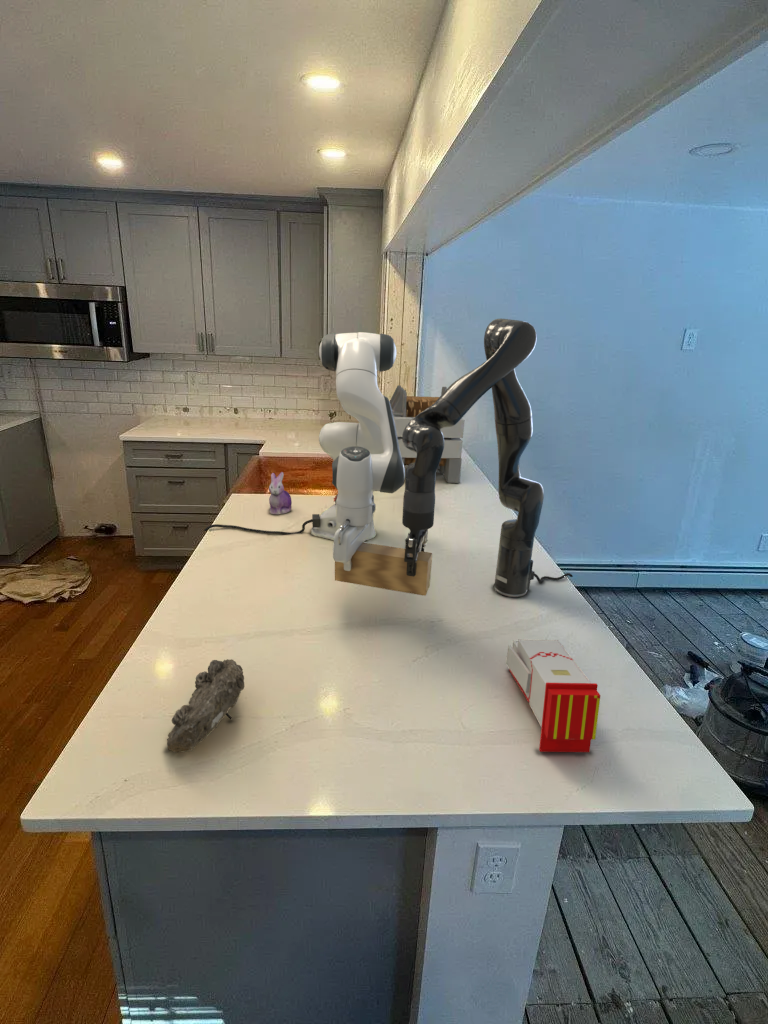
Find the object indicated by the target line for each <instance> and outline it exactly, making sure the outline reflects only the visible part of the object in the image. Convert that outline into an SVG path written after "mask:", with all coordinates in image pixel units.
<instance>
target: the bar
mask: <svg viewBox="0 0 768 1024" xmlns="http://www.w3.org/2000/svg"><path fill="white" fill-rule="evenodd" d="M410 557H413V554H410ZM404 558H405V548H403V547H397V546H389V545H382V544H377V543H369V542H365V541H364V542H363V543H362V544H361V545H360V547H359V548H358V549H357V550H356V552H355V554H354V555H353V556H352V558H351V562H352V569H351V570H350V571H346V570H344V563H342V562H336V561H334V581H336V582H341V583H342V582H343V583H347V584H353V585H359V586H360V585H361V586H365V587H371V588H376V589H382V590H387V591H388V590H389V591H395V592H400V593H405V594H411V595H418V596H424V597H426V596H427V594H428V591H429V590H430V587H431V577H432V565H433V564H432V563H433V552H429V551H424V552H423V551H421V553H420V554H418V558H417V565H416V575H415V576H414V577H413V576H408V575H407V574H406V572H407V562H404Z"/></svg>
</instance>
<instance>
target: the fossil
mask: <svg viewBox="0 0 768 1024" xmlns="http://www.w3.org/2000/svg"><path fill="white" fill-rule="evenodd" d="M243 670H244V669H243V667H242V665H240V664H237V662H236V661H235V660H234V659H232V658H231V659H227V658H226V659H224V660H223V661H222V660H217V659H212V660H211V661H210V663H209V665H208V666H207V671H201V672H199V673H198V674H197V675H196V676H195V680H194V684H195V685H194V687H195V689H194V690H193V693H192V694H191V697H190V698H189V700H188V704H184V705H182V706H181V707H180V709H177V710H176V711H175V713H174V715H173V716H172V718H171V723H172V724H173V727H172V730H171V731H170V732H168V734H167V738H166V741H167V742H166V745H167V749H168V750H169V751H173V752H174V753H176V754H178V753H182V752H188V751H189V752H192V751H193V750H195V748H196V747H197V746H199V744H200V743H201V742H203V741H204V740H205V739H206V738H207V737H208V736H209V735H210V734H211V733H212V732H214V730H215V729H217V727H218V726H219V724H220V722H221V721H222V720H223V719H224V718H225V716H226V717H227V719H229V720H233V717H232V715H230V714H229V710H230V709H231V708H234V706H235V704H236V703H237V702H238V699H239V697H240V695H241V693H242V691H243V690H245V689H244V688H245V675H244V671H243Z"/></svg>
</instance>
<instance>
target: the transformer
mask: <svg viewBox="0 0 768 1024" xmlns="http://www.w3.org/2000/svg"><path fill="white" fill-rule="evenodd" d="M447 388H448V387H447V386H442V387H441V392H440V393H441V394H440V396H441V395H442V394H443V393H444V392H445V391H446V390H447ZM407 394H408V393H407V390H406V389H404V388H403V387H402V385H399V384H398V385H397V386H396V388H395V390H394V392H393V394H392V395H391V398H390V400H389V402H390V404H391V408H392V413H393V417H394V422H395V428H396V433H397V439H398V444H399V449H400V454H401V458H402V461H403V464H404V466H406V467H407V466H408V465H409V464H411V463H414V462H415V461H416V456H417V453H416V452H414V451H411V450H409V449H408V448H406V447H405V446H404V444H403V441H402V434H403V431H404V429H405V427H406V426H407V424H408V423H409V422H410V421H411V420H412V419H413V418H414V417H416V416H417V415H418V414H420V413H421V412H423V411H424V410H425V409H427V408H428V407H430V406H432V405H433V404H434V403H435V402H436V401H437V400H438V398H439V397H440V396H415V395H414V396H413V395H412V396H411V395H407ZM464 429H465V419H464V418H463V417H462V418H461V419H460V421H459V422H458V423H457V424H456V425H454V426H452V427H444V428H442V429H440V430H441V432H442V434H443V437H444V450H443V453H442V456H441V460H440V463H439V466H438V468H437V470H438V469H439V473H440V474H441V475H443V478H444V479H445V481H446V482H447V483H449V484H455V483H456V484H459V483H461V472H462V461H463V460H462V453H463V442H464V441H463V440H462V439H463V438H464V431H465V430H464Z"/></svg>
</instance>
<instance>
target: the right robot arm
mask: <svg viewBox="0 0 768 1024" xmlns="http://www.w3.org/2000/svg"><path fill="white" fill-rule="evenodd" d="M537 338H538V336H537V331H536V328H535V327H534V325H533V324H531V323H530V322H528V321H524V320H520V319H511V318H495V319H493V320H491V321H490V322H489V324H488V325H487V327H486V329H485V331H484V336H483V349H484V354H485V358H486V359H485V361H484V362H483V363H481V364H480V365H478V366H477V367H475V368H474V369H472V370H470V371H468V372H467V373H466V374H463V375H462V376H461V377H458V378H457V379H456V380H454V382H452V383H451V384H450V385H449V386H448V387H447V390H446V391H445V392H444V393H443V394H442V395H441V394H440V396H438V397H439V398H438V400H437V401H436V402H435V403H434V404H433V405H432V406H430V407H428V408H427V409H425V410H424V411H423V412H421V413H420V414H418V415H417V416H416V417H414V418H413V419H412V420H411V421H410V422H409V423H408V424H407V426H406V427H405V429H404V431H403V434H402V441H403V444H404V446H405V447H406V448H408V449H409V450H411V451H414V452H416V453H417V456H416V461H415V462H414V463H411V464H409V465H408V466H407V465H406V468H405V480H404V487H405V488H404V493H403V498H402V499H403V501H402V520H401V522H402V523H401V524H402V525H403V527H404V528H406V529H408V530H409V532H408V533H407V537H405V538H406V539H405V540H404V541H405V545H404V549H405V558H404V562H407V572H406V574H407V575H408V576H413V577H414V576H415V575H416V565H417V558H418V554H420V553H421V551H423V552H425V548H426V547H427V543H428V533H429V532H428V531H429V530H430V529H432V527H434V523H435V511H436V510H435V507H436V477H437V472H438V466H439V463H440V460H441V456H442V453H443V450H444V437H443V434H442V432H441V430H440V429H442V428H444V427H452V426H454V425H456V424H457V423H458V422H459V421H460V419H461V418H462V419H463V417H465V416H466V414H467V413H468V412H469V411H470V410H471V409H472V407H473V406H474V405H475V404H476V403H477V402H478V401H479V400H480V399H481V398H482V397H483V396H484V395H485V394H487V392H488V391H490V390H491V393H492V394H491V395H492V402H493V413H494V425H495V426H494V428H495V434H496V442H497V443H496V444H497V458H498V486H497V487H498V489H497V490H498V498H499V502H500V504H501V505H502V506H503V507H505V508H507V509H509V510H512V511H514V512H517V517H516V519H514V518H513V519H507V520H505V521H503V522H502V523H501V527H500V533H499V534H500V535H499V544H498V551H497V560H496V567H495V575H494V576H495V577H494V583H493V590H494V591H495V592H496V593H498V594H499V595H502V596H505V597H508V598H509V597H510V598H521V597H524V596H526V594H527V593H528V592H529V591H530V588H531V581H533V580H534V578H536V580H537V582H538V583H540V584H541V583H543V581H544V580H551V581H561V580H563V579H564V578H567V577H568V576H569V577H570V578H573V577H574V576H573V574H572V573H570V572H566V573H565V574H563V575H561V576H558V577H554V576H547V575H546V576H545V575H544V576H541V578H540V576H539V575H538V574H536V572H535V571H534V570H533V566H534V559H532V557H533V550H534V542H535V537H536V532H537V530H538V527H539V524H540V518H541V513H542V509H543V505H544V497H545V490H544V487H543V485H542V484H541V483H540V482H538V481H536V480H533V479H529V478H525V477H522V476H521V475H522V474H521V471H520V469H521V468H520V461H521V457H522V456H523V453H524V452H525V450H526V449H527V447H528V445H529V444H530V442H531V439H532V437H533V433H534V427H533V425H534V424H533V411H532V407H531V404H530V401H529V399H528V398H527V395H526V393H525V391H524V389H523V388H522V385H521V383H520V382H519V380H518V377H517V373H516V368H517V367H518V366H520V365H521V364H522V363H523V362H524V361H526V360H527V359H528V358H529V357H530V356H531V354H532V353H533V351H534V350H535V347H536V344H537V340H538V339H537ZM410 554H413V557H410ZM564 576H565V577H564Z"/></svg>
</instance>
